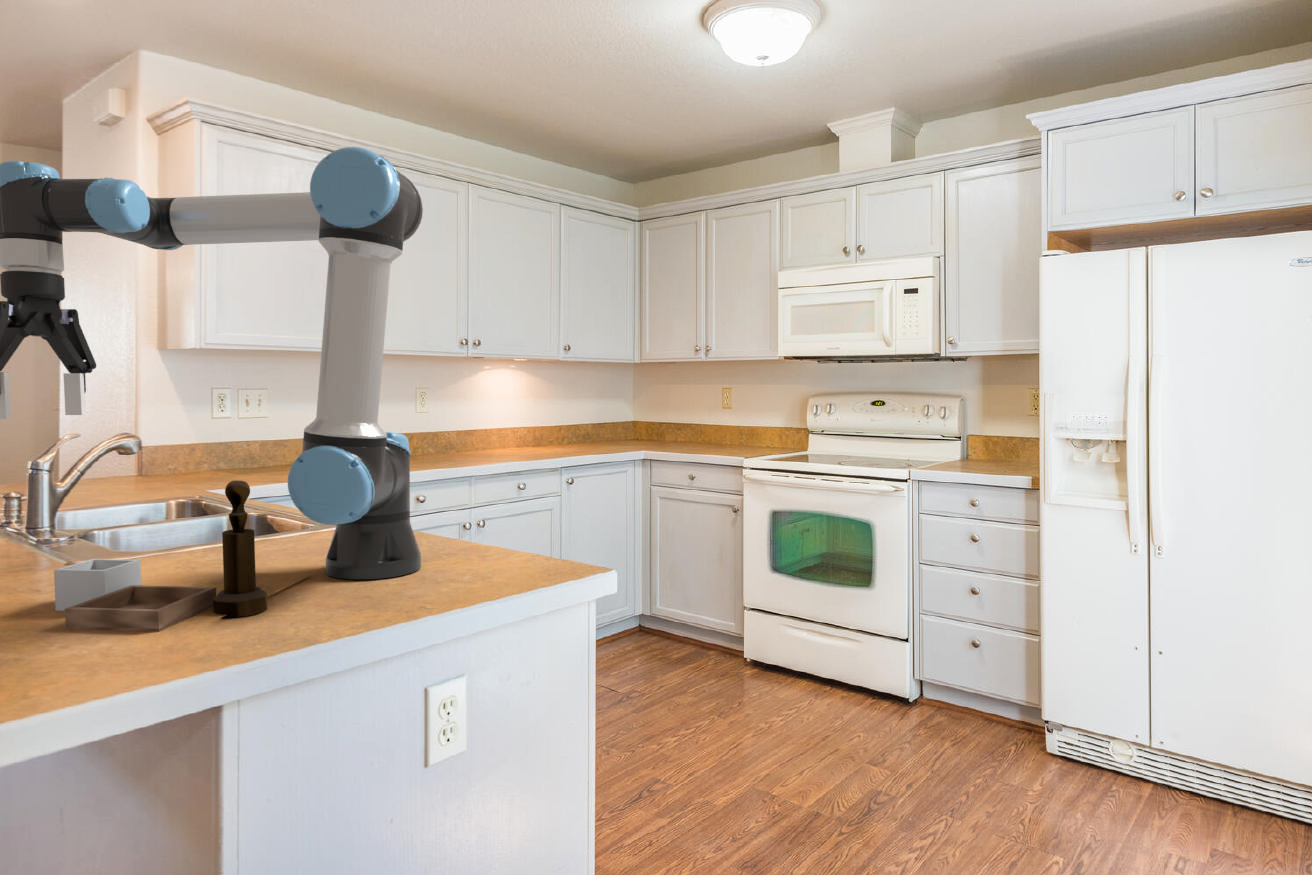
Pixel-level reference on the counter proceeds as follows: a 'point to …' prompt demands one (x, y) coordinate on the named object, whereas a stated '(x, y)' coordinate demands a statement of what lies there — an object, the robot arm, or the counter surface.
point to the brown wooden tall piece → (239, 561)
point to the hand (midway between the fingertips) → (39, 417)
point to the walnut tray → (140, 608)
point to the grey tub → (93, 580)
